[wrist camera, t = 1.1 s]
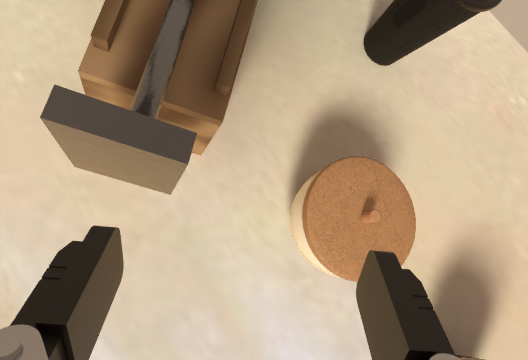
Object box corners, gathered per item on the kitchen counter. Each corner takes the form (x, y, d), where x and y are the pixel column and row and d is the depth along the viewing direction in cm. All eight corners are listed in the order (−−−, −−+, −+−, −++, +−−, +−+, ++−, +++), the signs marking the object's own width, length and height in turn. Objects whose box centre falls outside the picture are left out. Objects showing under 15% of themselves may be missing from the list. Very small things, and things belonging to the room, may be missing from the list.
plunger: (74, 167, 24) (40, 117, 15) (163, -61, 28) (175, -197, 20) (170, 195, 25) (187, 164, 17) (239, -26, 30) (280, -139, 21)
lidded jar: (348, 163, 42) (404, 138, 33) (380, 257, 41) (447, 258, 32) (260, 188, 38) (297, 168, 29) (293, 293, 37) (342, 305, 29)
